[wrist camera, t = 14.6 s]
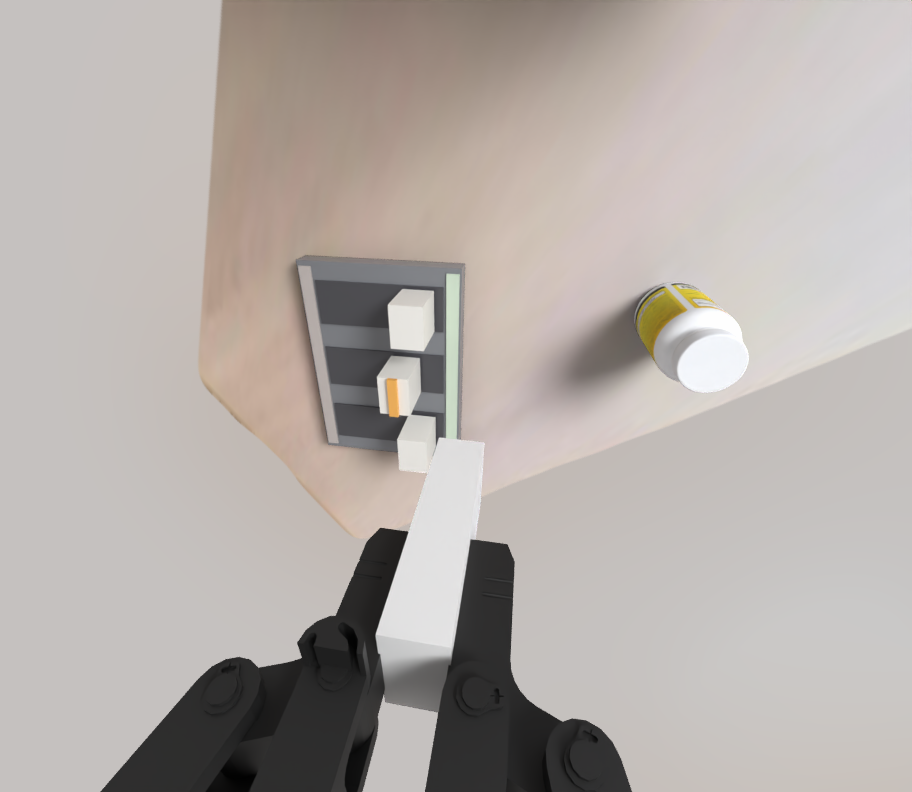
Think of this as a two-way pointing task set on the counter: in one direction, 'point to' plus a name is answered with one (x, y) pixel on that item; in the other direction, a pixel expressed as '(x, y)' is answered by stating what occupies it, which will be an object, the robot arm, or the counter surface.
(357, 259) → the panel
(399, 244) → the counter surface
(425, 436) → the block
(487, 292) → the counter surface
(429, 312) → the breaker near
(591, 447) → the counter surface
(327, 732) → the robot arm
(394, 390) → the breaker mid
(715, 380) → the pill bottle
